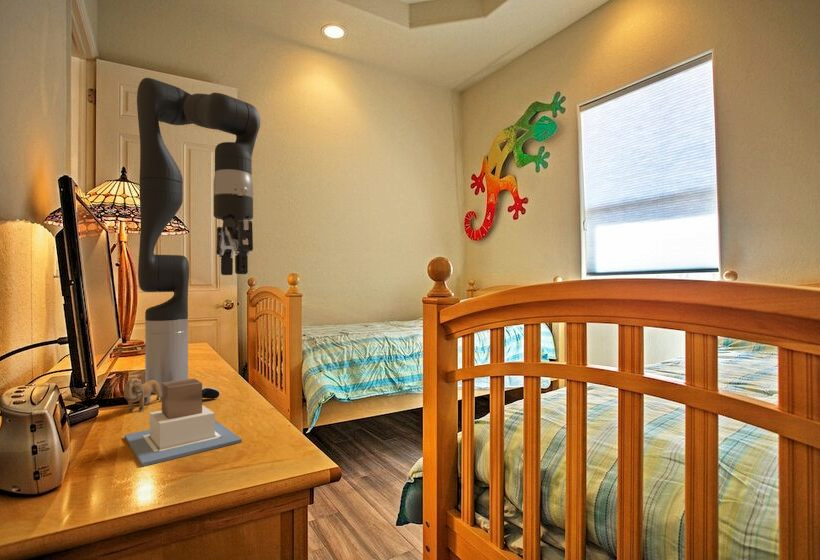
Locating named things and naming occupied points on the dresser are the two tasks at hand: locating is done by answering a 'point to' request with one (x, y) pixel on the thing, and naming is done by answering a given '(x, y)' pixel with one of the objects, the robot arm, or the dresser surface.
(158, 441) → the base slab
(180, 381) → the walnut cube
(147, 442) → the board
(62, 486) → the dresser surface
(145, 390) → the lion figurine
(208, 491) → the dresser surface
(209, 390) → the game controller
